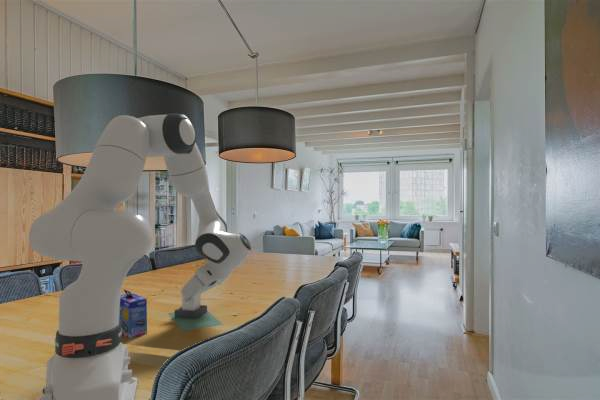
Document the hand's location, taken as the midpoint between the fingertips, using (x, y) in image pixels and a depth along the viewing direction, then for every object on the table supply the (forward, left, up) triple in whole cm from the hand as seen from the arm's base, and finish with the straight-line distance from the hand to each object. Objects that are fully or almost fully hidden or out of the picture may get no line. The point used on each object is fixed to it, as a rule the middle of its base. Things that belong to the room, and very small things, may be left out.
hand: (189, 298), depth 123 cm
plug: (0, 0, -5) cm, 5 cm away
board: (-5, 0, -7) cm, 9 cm away
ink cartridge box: (-8, +20, -8) cm, 23 cm away
